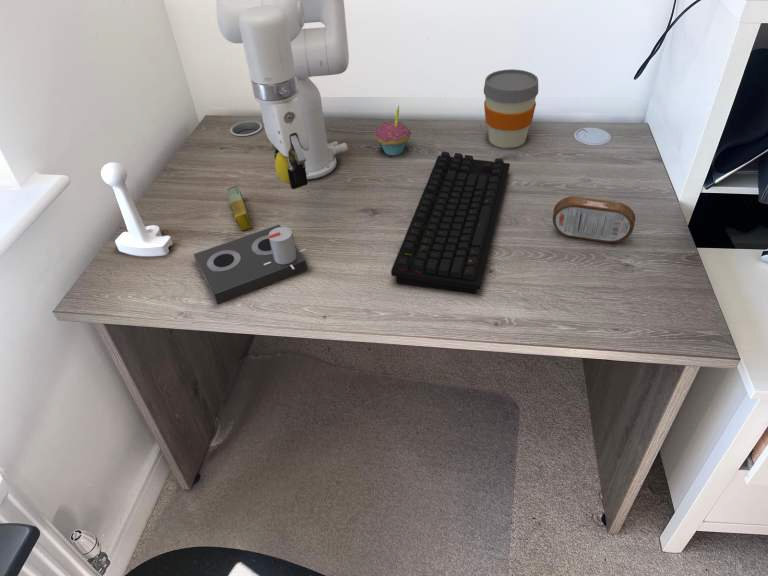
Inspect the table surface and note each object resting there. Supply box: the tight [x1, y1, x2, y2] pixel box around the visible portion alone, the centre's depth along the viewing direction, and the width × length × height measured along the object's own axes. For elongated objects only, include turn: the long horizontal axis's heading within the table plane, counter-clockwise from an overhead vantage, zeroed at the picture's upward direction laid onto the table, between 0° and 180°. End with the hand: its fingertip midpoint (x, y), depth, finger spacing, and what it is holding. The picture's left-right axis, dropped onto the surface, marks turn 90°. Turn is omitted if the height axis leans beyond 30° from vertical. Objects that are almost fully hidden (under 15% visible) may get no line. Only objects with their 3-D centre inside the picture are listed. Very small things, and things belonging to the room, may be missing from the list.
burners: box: [207, 235, 272, 272], centre depth 120 cm, size 15×6×1 cm, turn 118°
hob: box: [193, 224, 308, 305], centre depth 119 cm, size 19×15×3 cm
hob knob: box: [268, 226, 297, 264], centre depth 116 cm, size 4×4×6 cm
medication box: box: [226, 185, 253, 232], centre depth 132 cm, size 12×3×4 cm, turn 19°
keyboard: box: [390, 151, 511, 295], centre depth 125 cm, size 42×16×5 cm, turn 165°
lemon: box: [274, 149, 306, 185], centre depth 114 cm, size 6×6×8 cm
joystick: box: [100, 161, 174, 257], centre depth 121 cm, size 11×8×20 cm
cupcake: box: [374, 105, 412, 156], centre depth 147 cm, size 9×8×12 cm
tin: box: [552, 195, 636, 244], centre depth 118 cm, size 15×3×8 cm, turn 71°
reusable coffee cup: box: [483, 68, 539, 149], centre depth 147 cm, size 12×13×15 cm
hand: (292, 177), depth 116 cm, fingers closed on lemon, 5 cm apart
